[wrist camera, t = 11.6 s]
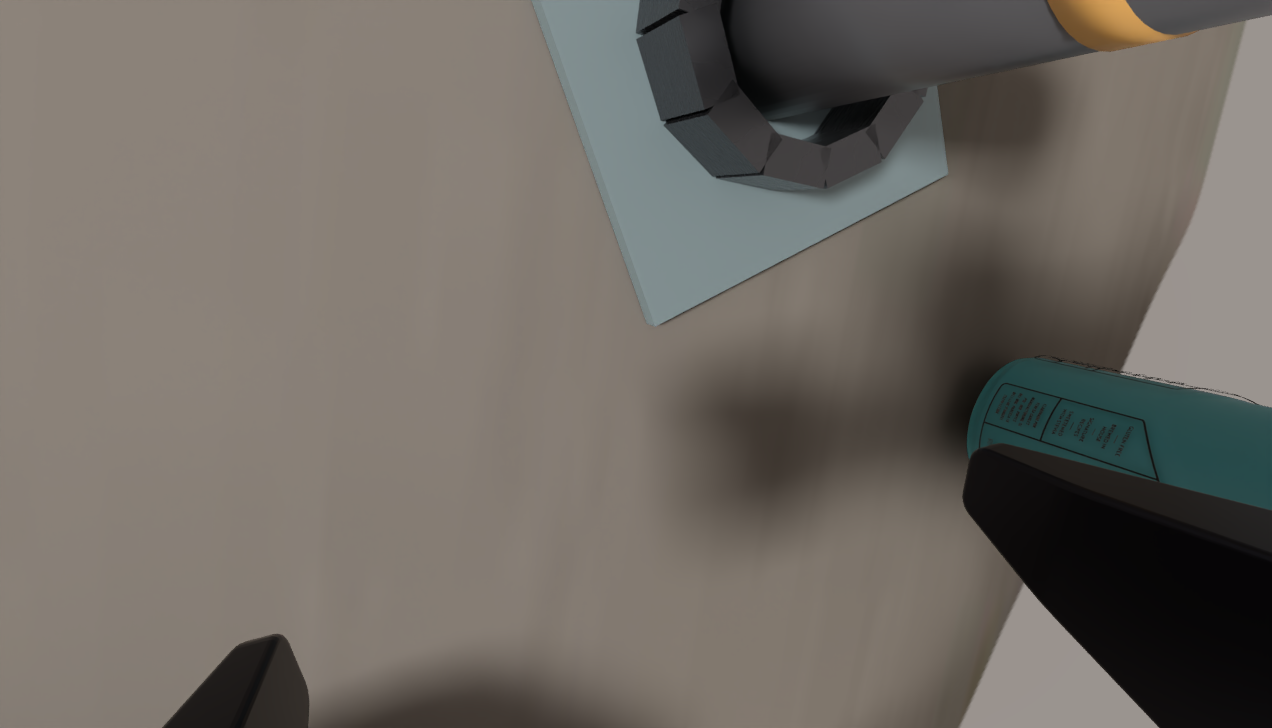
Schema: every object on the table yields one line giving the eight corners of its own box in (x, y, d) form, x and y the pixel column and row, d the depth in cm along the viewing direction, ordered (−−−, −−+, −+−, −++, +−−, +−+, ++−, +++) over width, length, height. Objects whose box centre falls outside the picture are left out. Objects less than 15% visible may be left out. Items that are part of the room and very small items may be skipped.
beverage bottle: (914, 421, 28) (1912, 796, 10) (998, 315, 28) (2052, 490, 11) (966, 496, 31) (1798, 882, 13) (1040, 398, 32) (1915, 638, 14)
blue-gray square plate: (646, 323, 20) (655, 326, 20) (466, -181, 15) (471, -195, 14) (935, 174, 25) (948, 174, 24) (876, -261, 19) (891, -275, 19)
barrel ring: (693, 229, 20) (738, 232, 17) (593, -100, 16) (634, -148, 14) (895, 133, 22) (955, 125, 20) (848, -166, 19) (916, -215, 17)
